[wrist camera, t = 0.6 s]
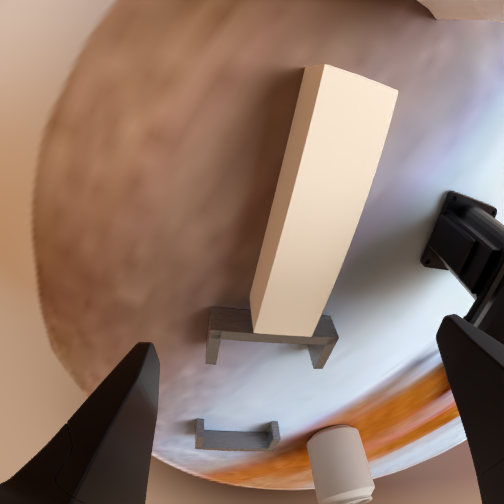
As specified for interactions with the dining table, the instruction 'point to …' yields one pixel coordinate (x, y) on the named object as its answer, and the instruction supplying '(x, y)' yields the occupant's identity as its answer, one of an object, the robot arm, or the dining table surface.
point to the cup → (466, 9)
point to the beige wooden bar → (318, 196)
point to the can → (340, 466)
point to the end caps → (240, 328)
